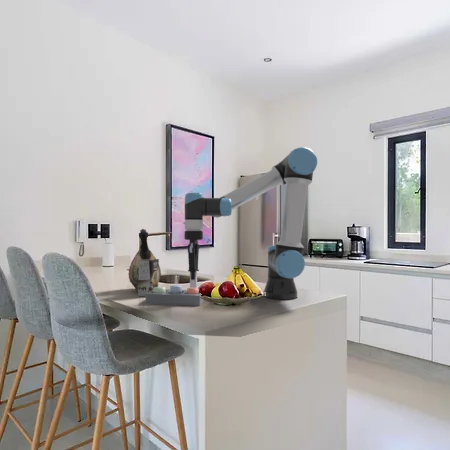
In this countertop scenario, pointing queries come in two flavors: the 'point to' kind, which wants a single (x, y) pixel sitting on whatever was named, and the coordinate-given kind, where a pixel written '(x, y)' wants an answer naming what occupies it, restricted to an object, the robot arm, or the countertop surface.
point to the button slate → (176, 289)
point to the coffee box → (148, 276)
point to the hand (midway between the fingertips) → (193, 287)
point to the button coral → (192, 290)
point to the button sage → (159, 289)
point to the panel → (173, 298)
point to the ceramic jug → (141, 255)
